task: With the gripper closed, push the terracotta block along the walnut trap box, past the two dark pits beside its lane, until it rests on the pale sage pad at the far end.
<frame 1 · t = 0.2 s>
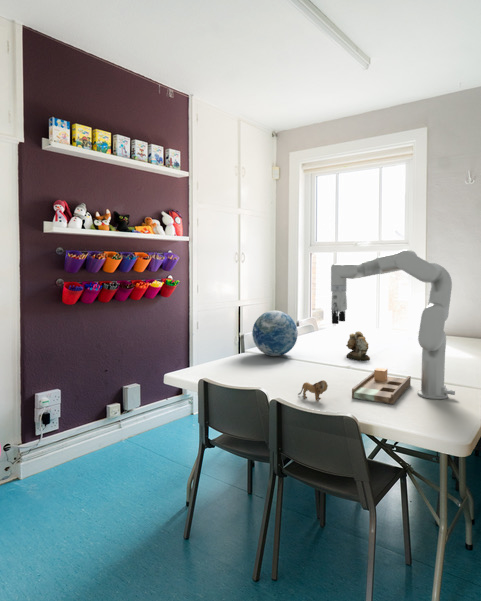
hand: (338, 322, 219), 31 cm above the table, tool pointing down, fingers open, 9 cm apart
globe: (275, 356, 288), on the table
lion figurine: (313, 398, 197), on the table
block: (380, 379, 215), point 3 cm above the table, touching trap box
brown lumpy sculpture: (357, 358, 277), on the table
trap box: (382, 391, 205), on the table
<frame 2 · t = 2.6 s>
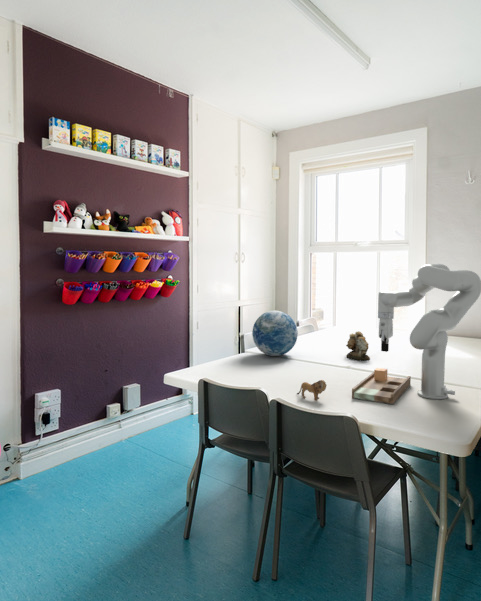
hand: (384, 351, 221), 16 cm above the table, tool pointing down, fingers closed
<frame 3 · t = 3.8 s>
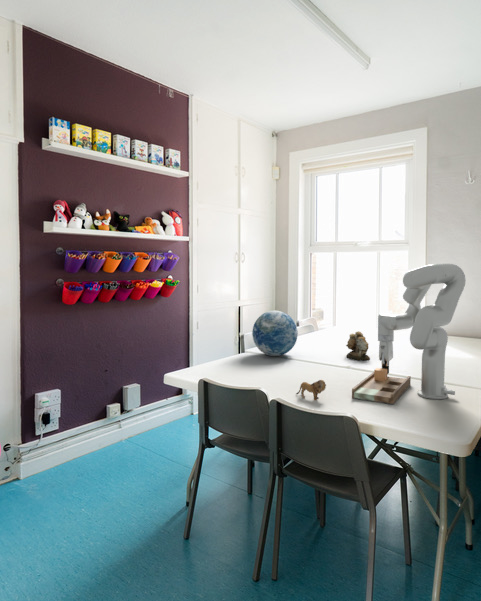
hand: (385, 373, 222), 4 cm above the table, tool pointing down, fingers closed
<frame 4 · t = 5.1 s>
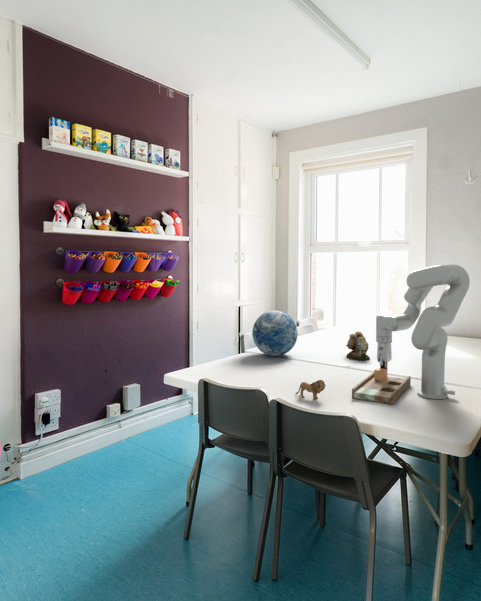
hand: (383, 375, 219), 4 cm above the table, tool pointing down, fingers closed
block: (380, 379, 215), point 3 cm above the table, touching gripper, trap box
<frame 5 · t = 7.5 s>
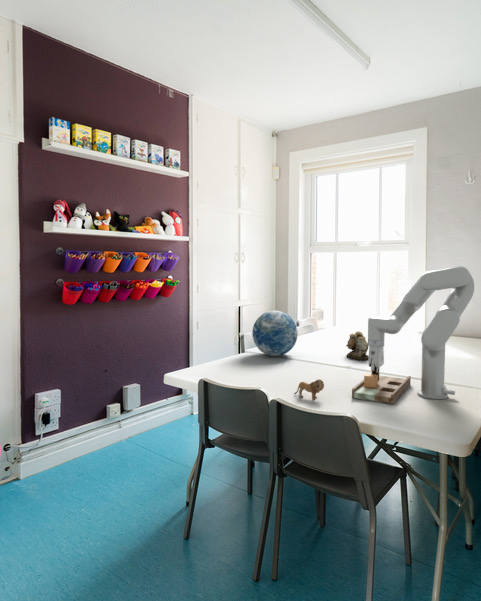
hand: (375, 380, 208), 4 cm above the table, tool pointing down, fingers closed
block: (371, 385, 204), point 3 cm above the table, touching gripper
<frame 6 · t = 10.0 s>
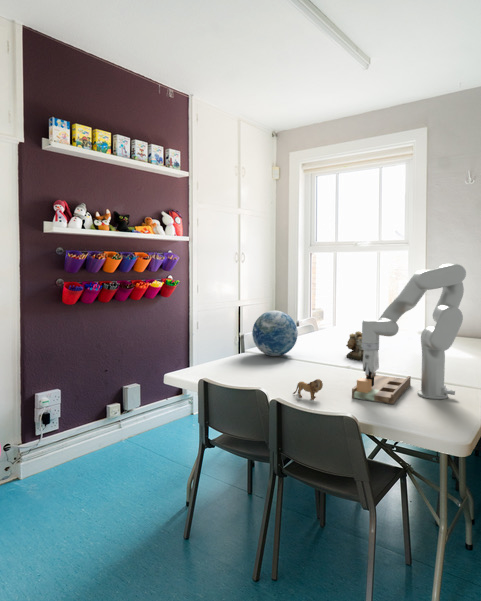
hand: (370, 385, 200), 4 cm above the table, tool pointing down, fingers closed
block: (364, 390, 197), point 3 cm above the table, touching gripper, trap box
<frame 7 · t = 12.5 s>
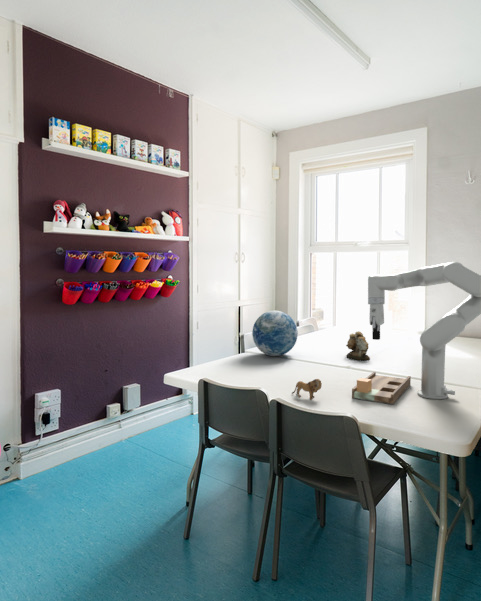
hand: (376, 339, 208), 24 cm above the table, tool pointing down, fingers closed
block: (364, 390, 197), point 3 cm above the table, touching trap box
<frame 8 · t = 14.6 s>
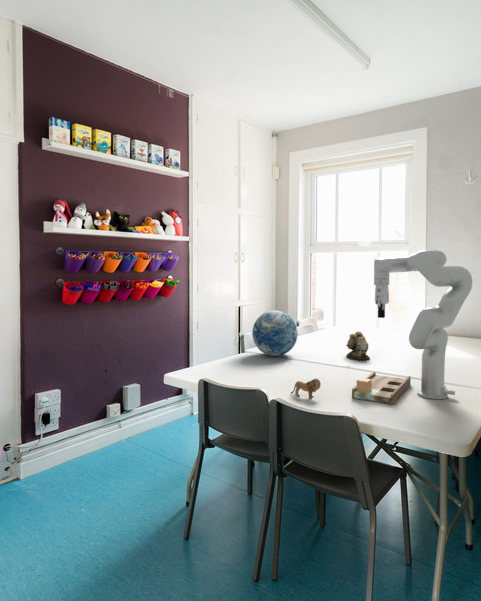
hand: (381, 317, 225), 32 cm above the table, tool pointing down, fingers closed
at the end: block inside the target area on the trap box (0.7 cm from its centre), point 3.0 cm above the trap box's base; block tilted 0° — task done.
